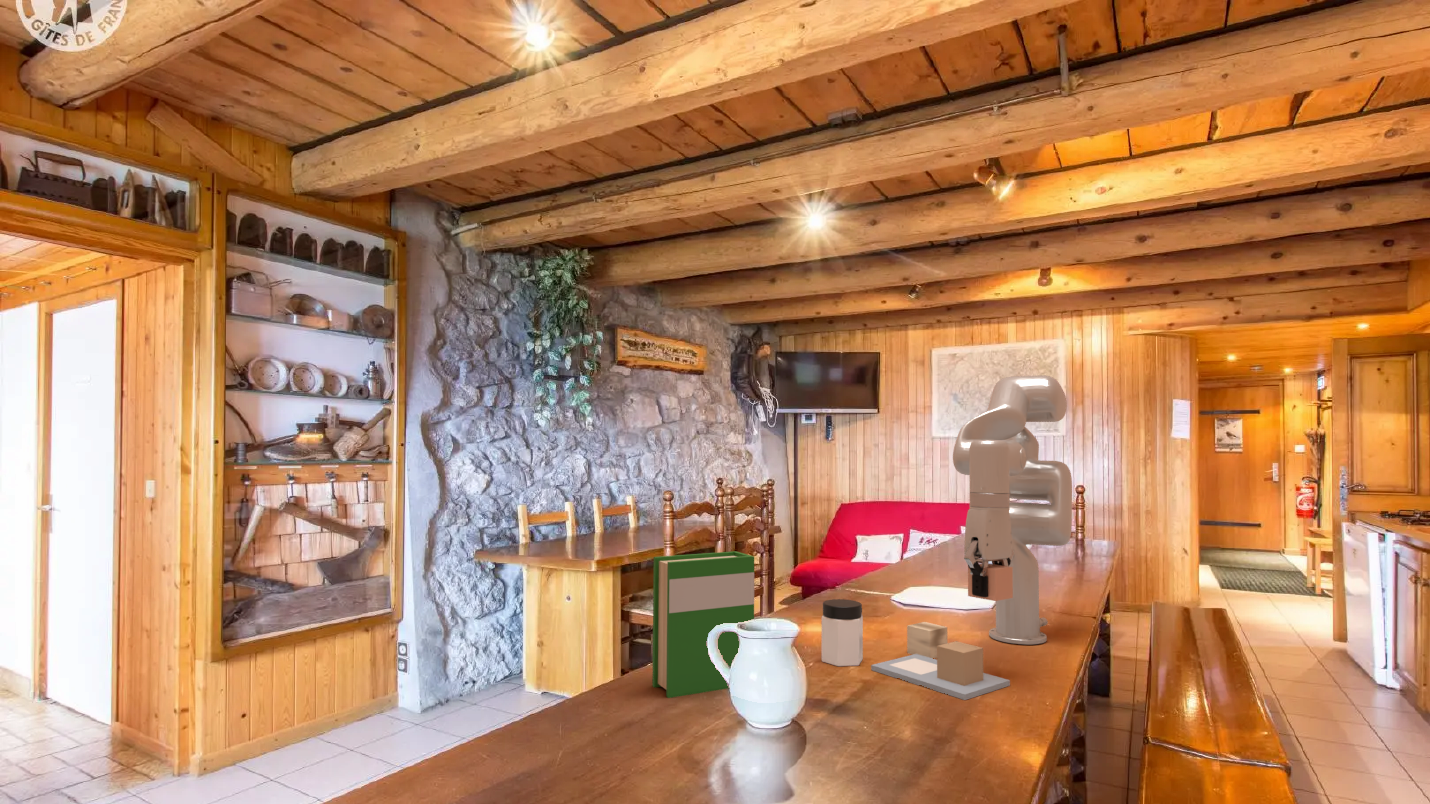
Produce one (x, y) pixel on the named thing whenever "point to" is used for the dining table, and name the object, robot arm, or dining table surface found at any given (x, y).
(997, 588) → the terracotta block
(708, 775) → the dining table surface
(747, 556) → the hardback book
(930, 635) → the birch block
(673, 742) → the dining table surface
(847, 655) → the jar
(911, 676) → the board
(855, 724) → the dining table surface
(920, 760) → the dining table surface
